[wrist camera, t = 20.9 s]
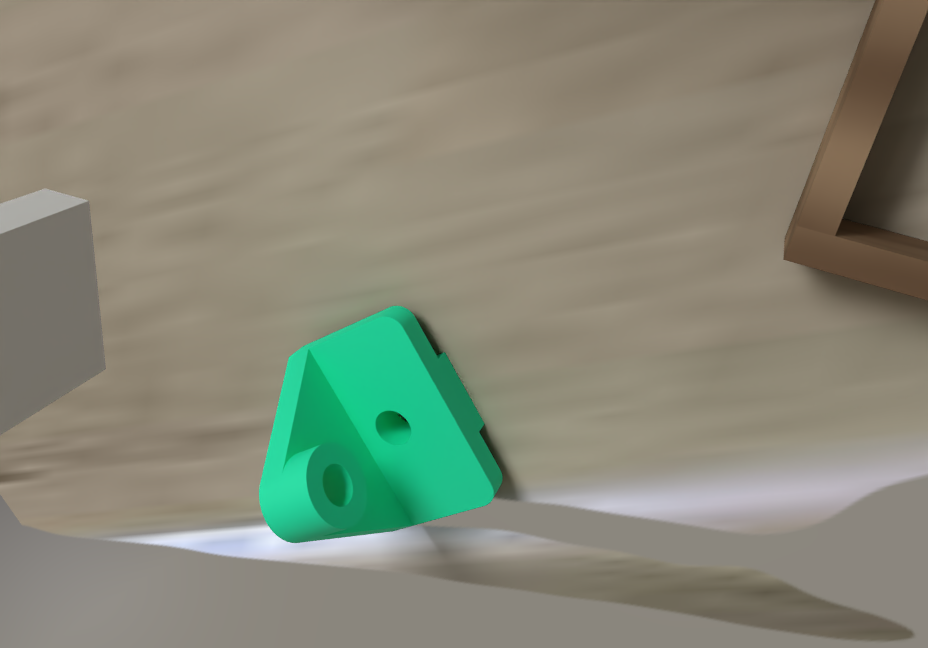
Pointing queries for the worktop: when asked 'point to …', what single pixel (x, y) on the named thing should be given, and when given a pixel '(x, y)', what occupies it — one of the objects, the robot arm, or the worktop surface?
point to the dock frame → (860, 166)
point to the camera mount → (373, 436)
